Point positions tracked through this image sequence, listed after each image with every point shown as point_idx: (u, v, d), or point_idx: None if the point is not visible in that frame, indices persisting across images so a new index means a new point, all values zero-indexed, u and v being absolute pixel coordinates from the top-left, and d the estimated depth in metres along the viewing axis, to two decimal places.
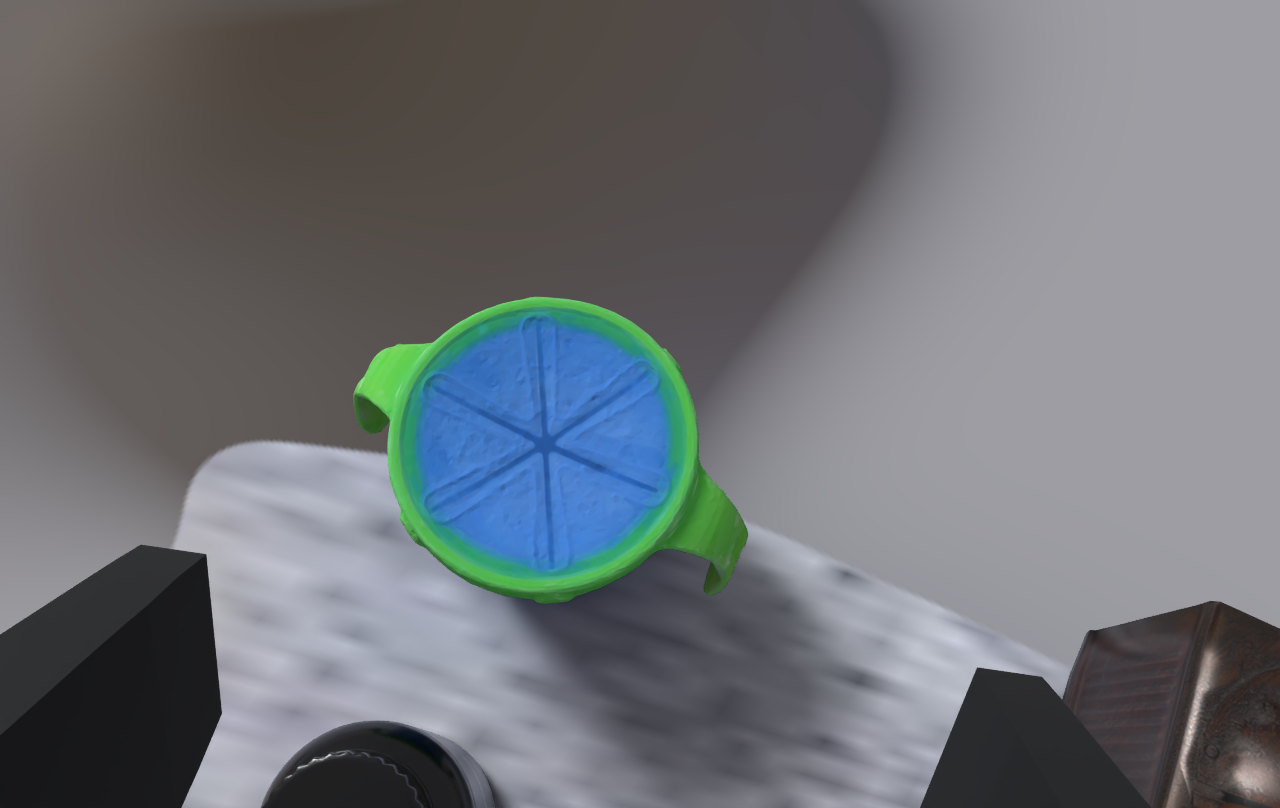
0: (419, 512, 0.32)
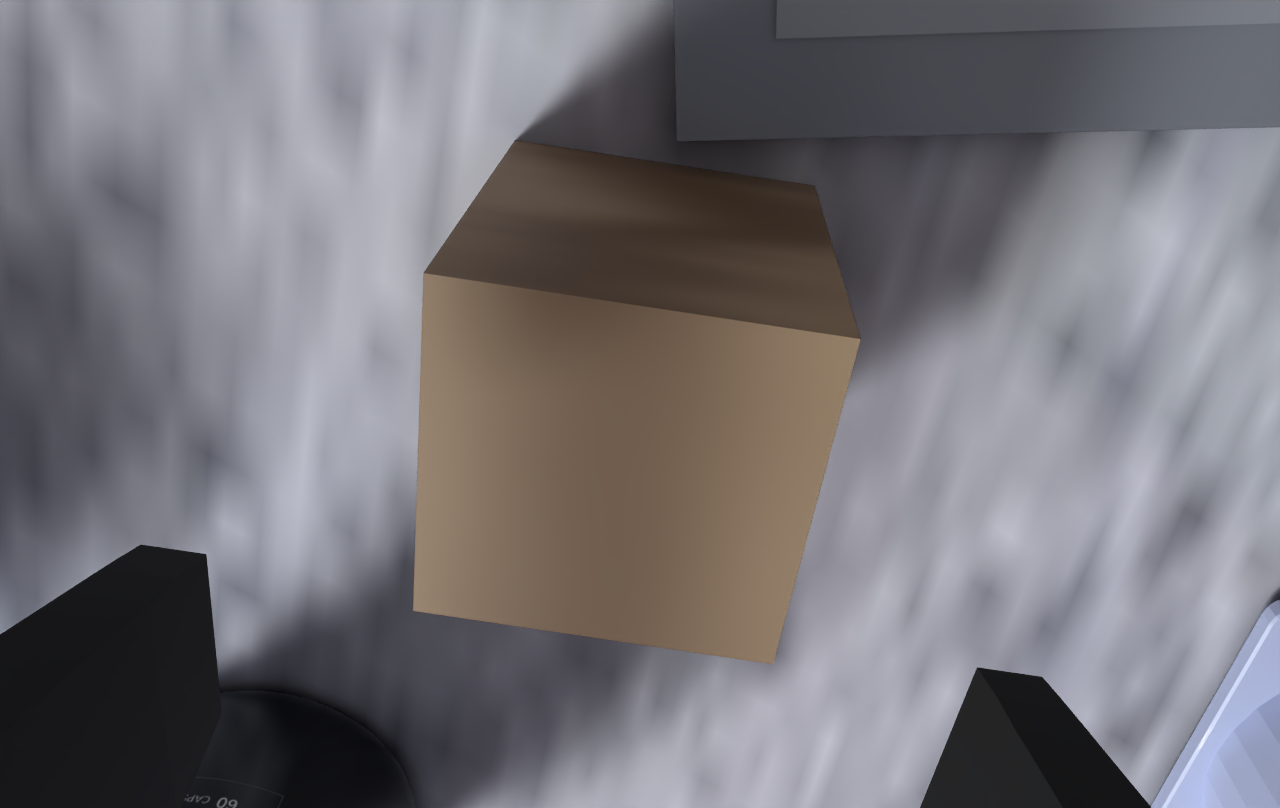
0: None
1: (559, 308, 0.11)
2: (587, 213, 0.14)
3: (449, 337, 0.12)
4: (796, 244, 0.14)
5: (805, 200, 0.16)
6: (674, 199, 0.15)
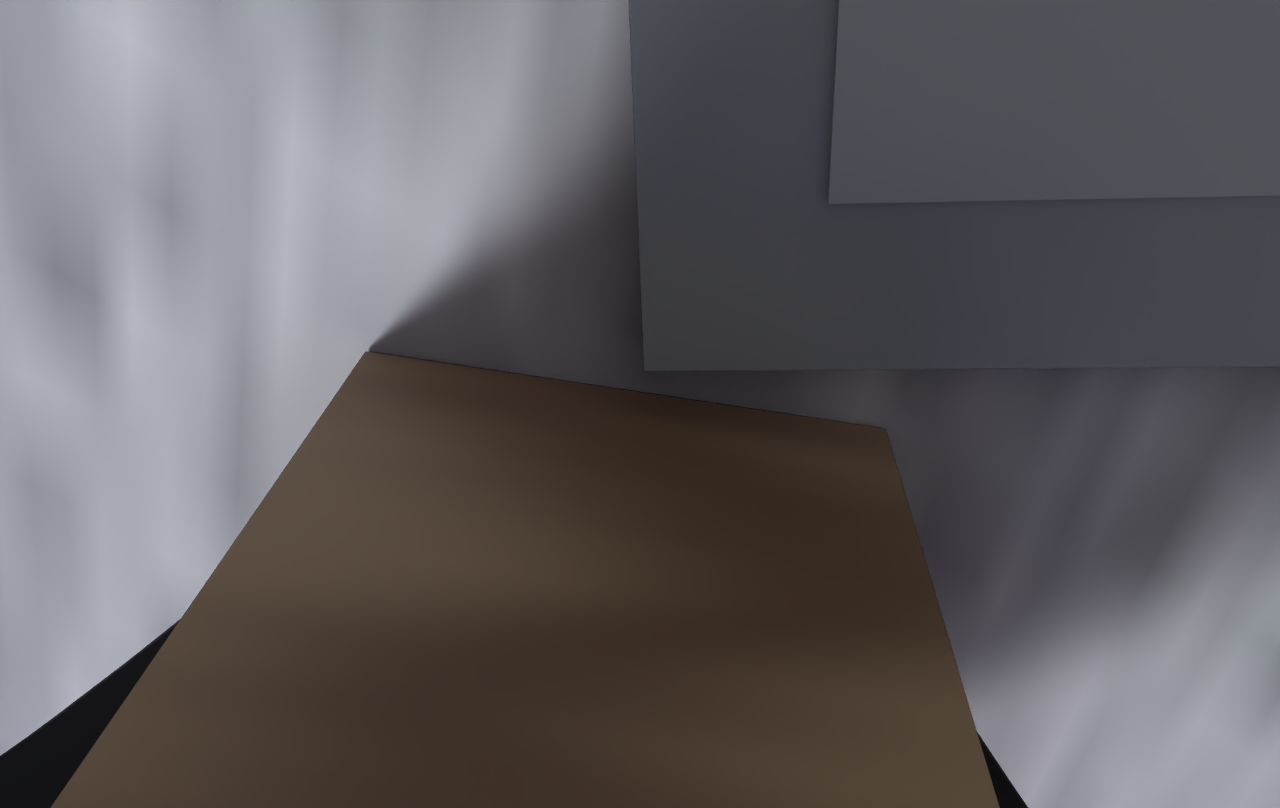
0: None
1: None
2: (452, 591, 0.07)
3: None
4: (879, 647, 0.07)
5: (878, 481, 0.09)
6: (634, 508, 0.08)
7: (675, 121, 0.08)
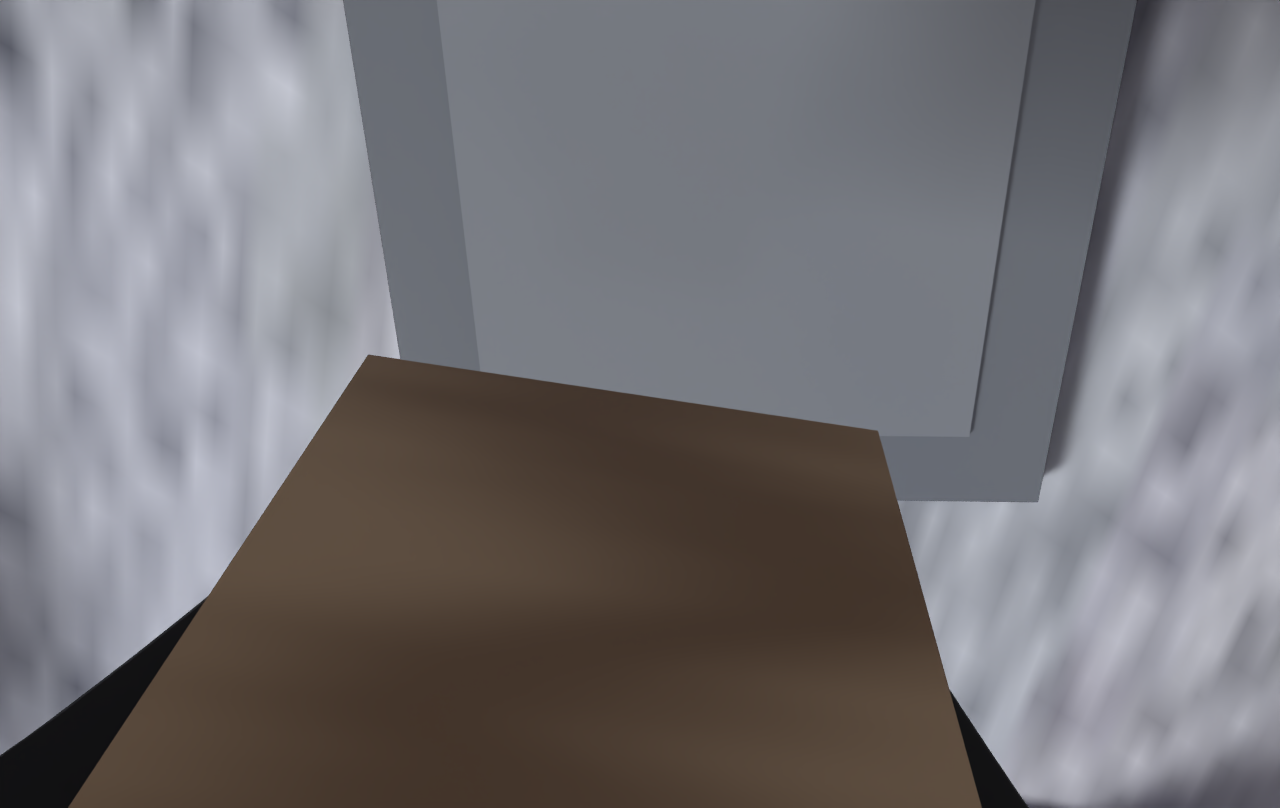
0: None
1: None
2: (453, 593, 0.07)
3: None
4: (867, 648, 0.07)
5: (870, 482, 0.09)
6: (631, 510, 0.08)
7: None
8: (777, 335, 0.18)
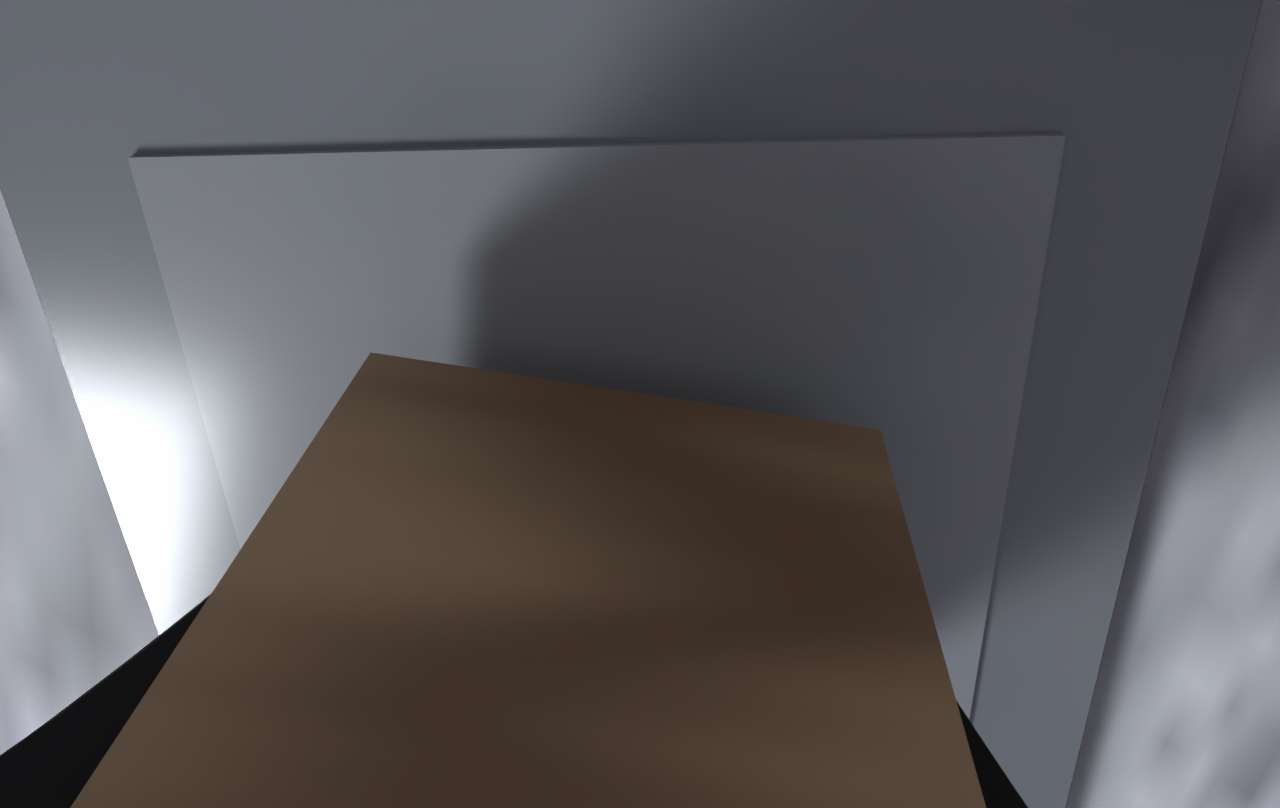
0: None
1: None
2: (457, 592, 0.07)
3: None
4: (870, 647, 0.07)
5: (872, 481, 0.09)
6: (635, 509, 0.08)
7: None
8: None
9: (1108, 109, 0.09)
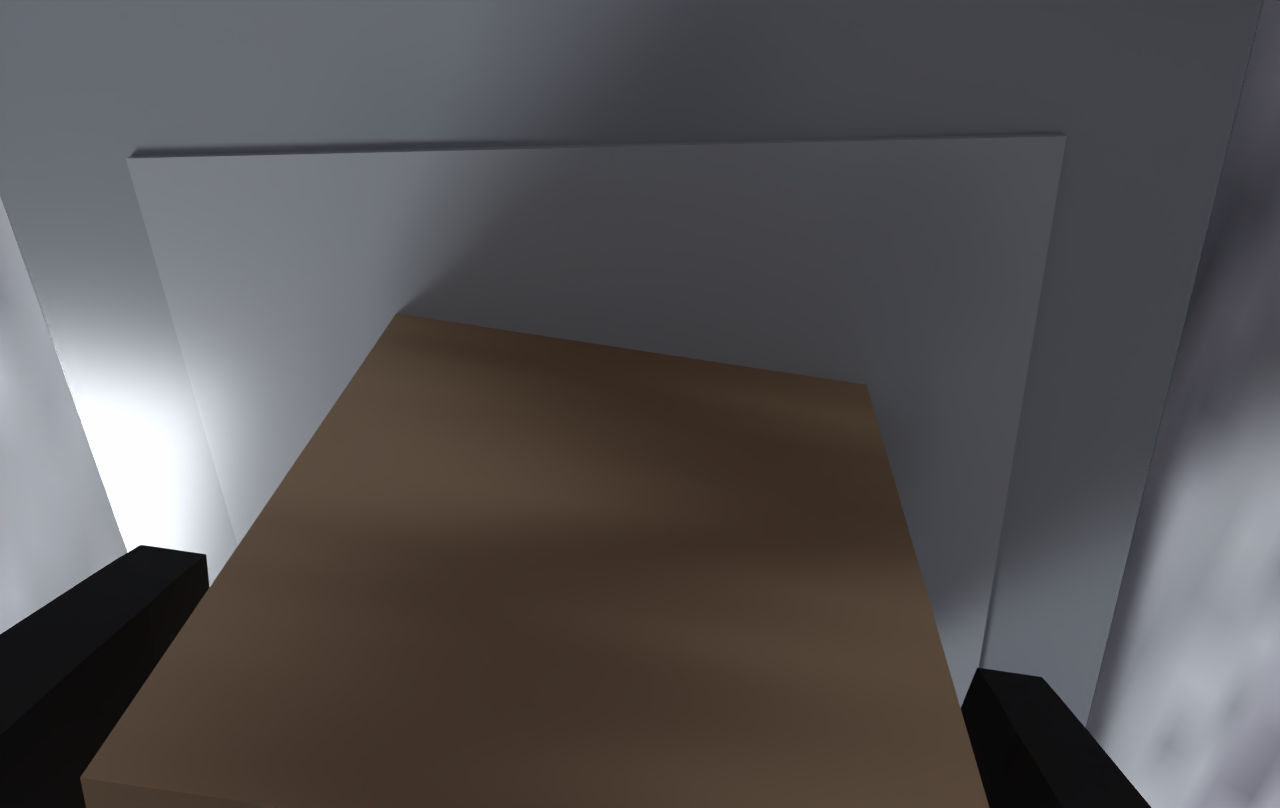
0: None
1: None
2: (483, 510, 0.08)
3: None
4: (853, 560, 0.08)
5: (858, 427, 0.10)
6: (641, 446, 0.09)
7: None
8: None
9: (1109, 109, 0.09)
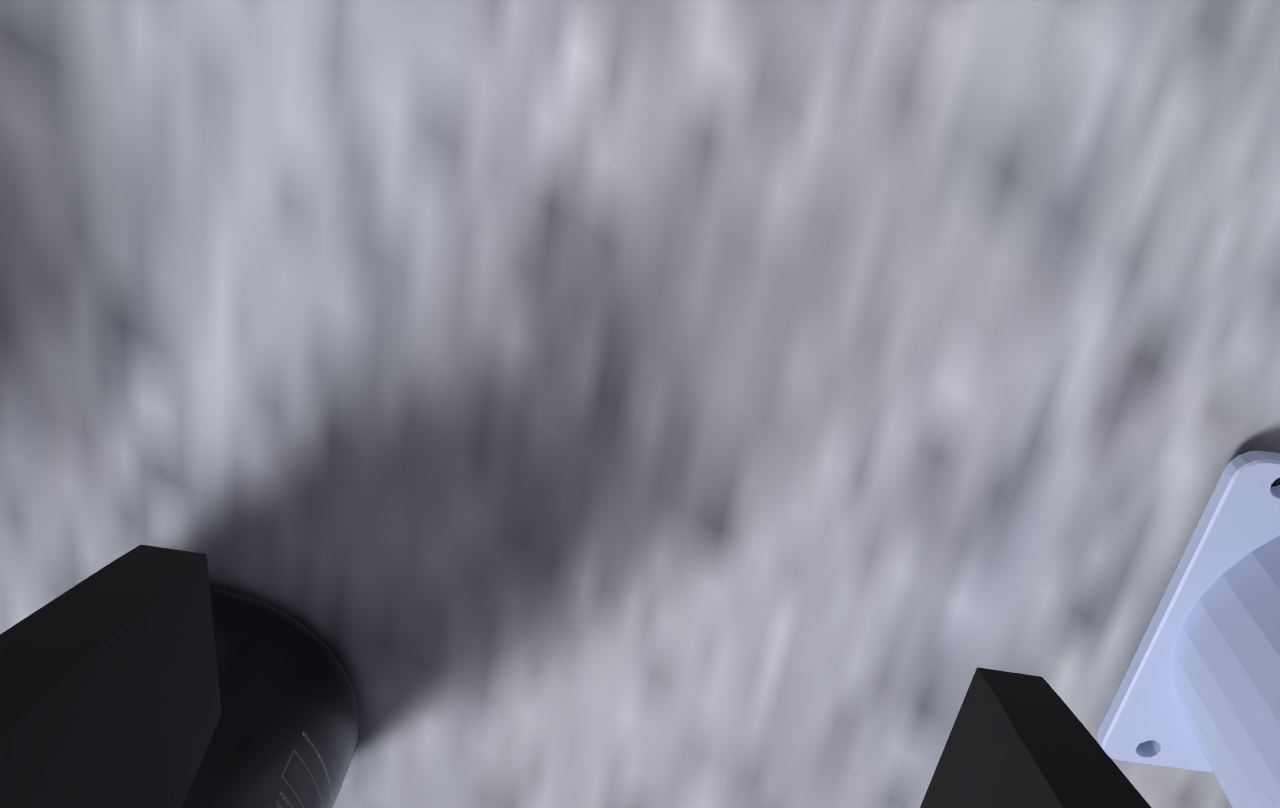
0: None
1: None
2: None
3: None
4: None
5: None
6: None
7: None
8: None
9: None
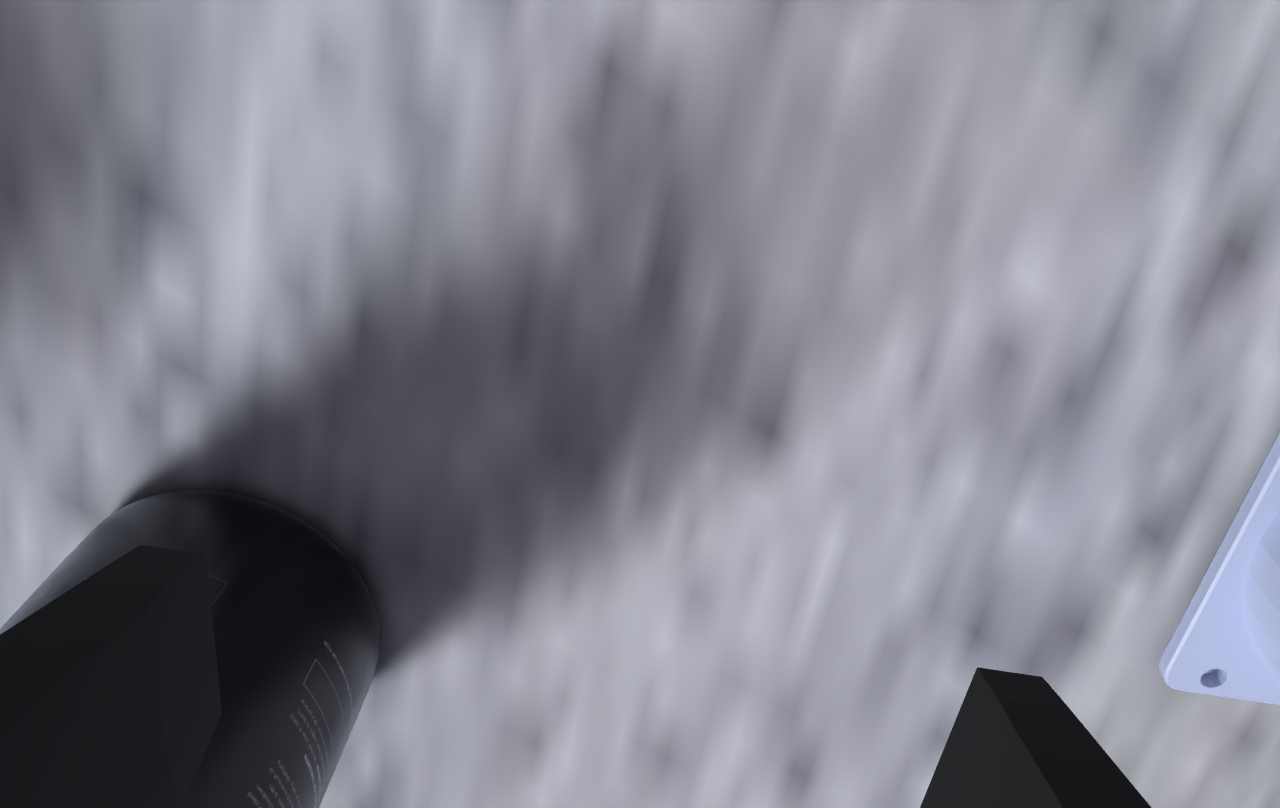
0: None
1: None
2: None
3: None
4: None
5: None
6: None
7: None
8: None
9: None
